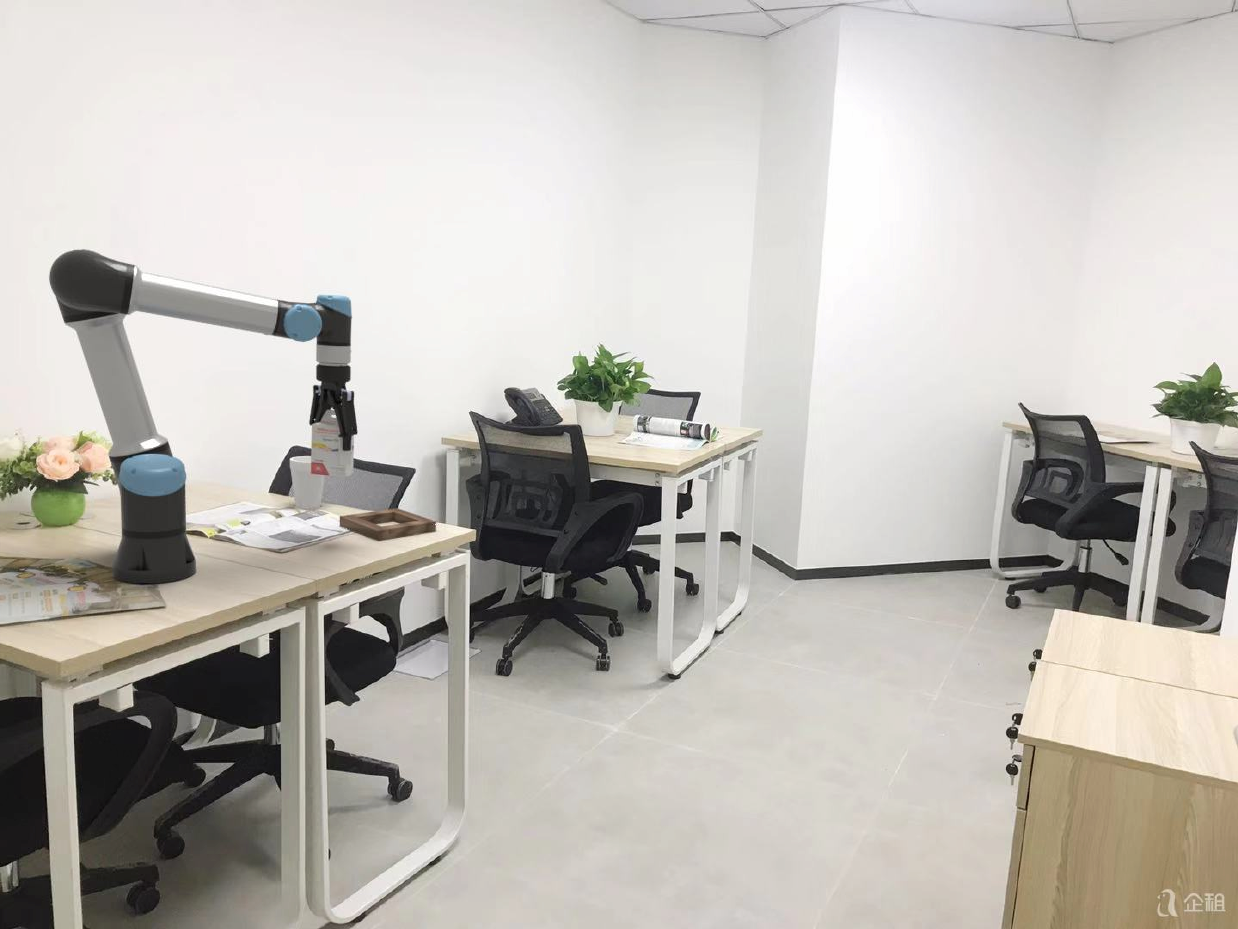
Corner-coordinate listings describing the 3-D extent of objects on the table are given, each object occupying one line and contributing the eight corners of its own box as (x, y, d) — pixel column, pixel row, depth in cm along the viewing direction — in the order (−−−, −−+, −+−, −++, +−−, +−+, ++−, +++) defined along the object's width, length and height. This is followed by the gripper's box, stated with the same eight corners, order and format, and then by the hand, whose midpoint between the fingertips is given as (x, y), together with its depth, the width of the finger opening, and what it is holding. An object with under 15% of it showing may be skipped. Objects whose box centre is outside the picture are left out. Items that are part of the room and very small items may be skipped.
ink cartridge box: (310, 474, 215) (310, 410, 213) (319, 470, 220) (319, 408, 218) (346, 477, 215) (347, 413, 212) (354, 473, 220) (355, 411, 217)
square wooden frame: (377, 541, 224) (378, 530, 224) (339, 526, 236) (339, 516, 235) (435, 531, 237) (436, 521, 236) (396, 517, 248) (397, 508, 248)
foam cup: (288, 503, 256) (288, 456, 253) (323, 502, 260) (323, 455, 257) (291, 511, 247) (292, 462, 245) (328, 509, 251) (328, 462, 249)
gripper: (375, 368, 208) (373, 467, 212) (323, 359, 223) (322, 451, 227) (345, 369, 203) (343, 470, 207) (293, 359, 218) (293, 454, 221)
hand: (332, 460), depth 217 cm, fingers closed on ink cartridge box, 9 cm apart
